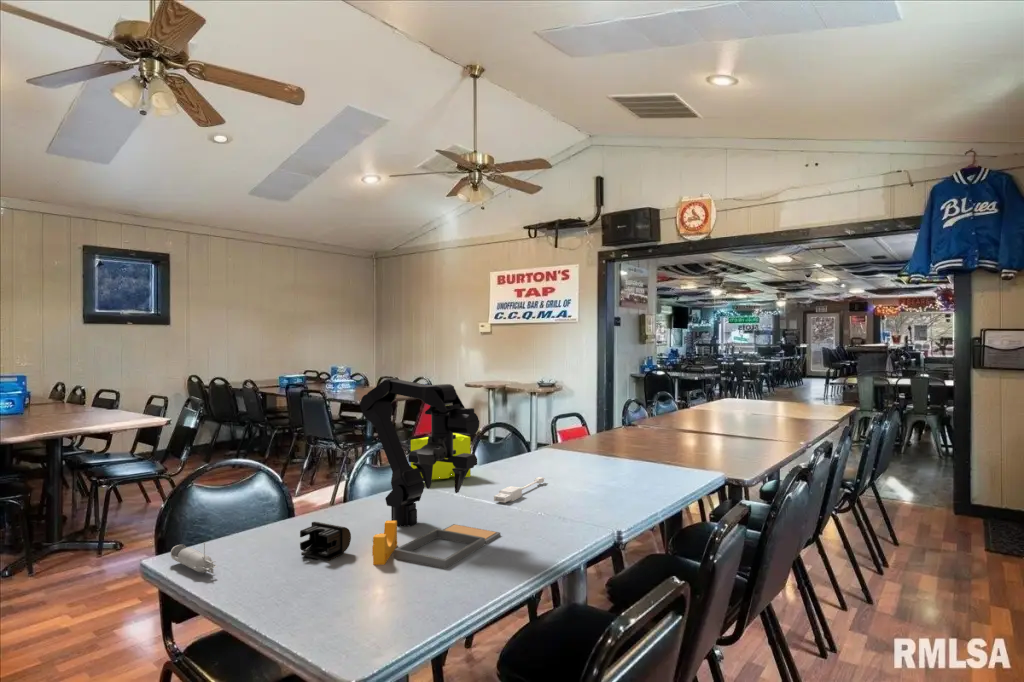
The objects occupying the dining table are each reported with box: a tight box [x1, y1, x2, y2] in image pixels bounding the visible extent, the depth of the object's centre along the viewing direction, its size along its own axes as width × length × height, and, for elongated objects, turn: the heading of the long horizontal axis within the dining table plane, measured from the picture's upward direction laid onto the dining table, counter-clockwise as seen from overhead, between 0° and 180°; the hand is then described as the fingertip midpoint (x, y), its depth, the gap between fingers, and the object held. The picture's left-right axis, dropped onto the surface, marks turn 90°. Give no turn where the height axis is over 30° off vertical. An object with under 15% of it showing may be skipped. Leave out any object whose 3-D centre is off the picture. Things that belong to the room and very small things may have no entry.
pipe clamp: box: [371, 520, 398, 566], centre depth 136 cm, size 12×4×6 cm, turn 178°
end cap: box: [299, 521, 352, 562], centre depth 138 cm, size 10×7×7 cm
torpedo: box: [170, 542, 218, 574], centre depth 130 cm, size 18×5×7 cm, turn 54°
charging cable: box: [493, 476, 546, 504], centre depth 192 cm, size 5×31×3 cm, turn 151°
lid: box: [442, 523, 501, 545], centre depth 149 cm, size 15×7×1 cm, turn 61°
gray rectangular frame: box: [393, 528, 486, 570], centre depth 138 cm, size 15×17×2 cm
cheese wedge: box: [410, 433, 472, 480], centre depth 216 cm, size 19×20×15 cm
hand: (442, 490), depth 152 cm, fingers open, 9 cm apart
